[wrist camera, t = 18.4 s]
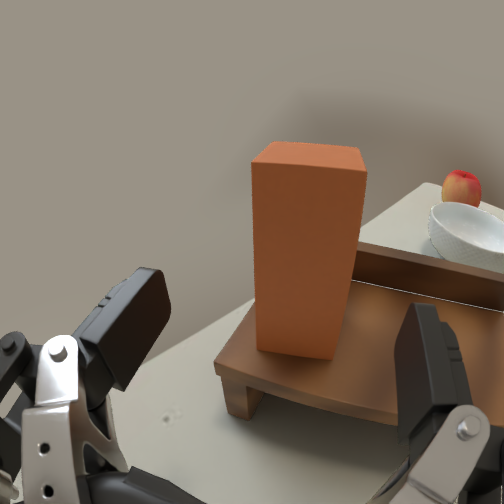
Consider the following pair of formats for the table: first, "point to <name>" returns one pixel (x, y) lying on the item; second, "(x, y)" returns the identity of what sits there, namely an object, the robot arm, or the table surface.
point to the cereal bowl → (467, 235)
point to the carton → (304, 244)
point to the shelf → (377, 341)
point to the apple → (461, 188)
